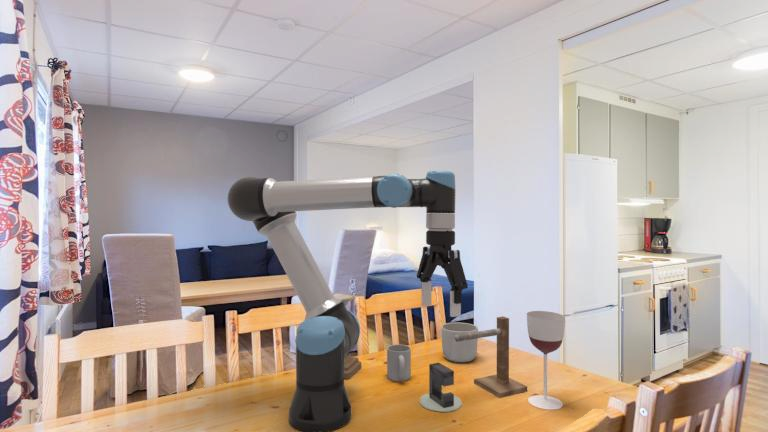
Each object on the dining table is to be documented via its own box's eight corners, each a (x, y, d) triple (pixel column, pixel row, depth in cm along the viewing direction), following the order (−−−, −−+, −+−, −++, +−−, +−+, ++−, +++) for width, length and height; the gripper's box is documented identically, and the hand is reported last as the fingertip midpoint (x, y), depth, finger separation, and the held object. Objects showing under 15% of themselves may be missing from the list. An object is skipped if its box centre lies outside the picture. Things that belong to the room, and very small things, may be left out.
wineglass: (541, 412, 109) (542, 321, 109) (519, 396, 119) (519, 312, 118) (572, 408, 112) (573, 318, 111) (548, 392, 121) (548, 310, 121)
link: (444, 408, 111) (444, 372, 111) (429, 397, 117) (429, 364, 117) (453, 405, 112) (453, 370, 112) (438, 395, 118) (438, 362, 118)
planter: (483, 356, 151) (483, 325, 151) (470, 367, 141) (470, 333, 141) (449, 350, 158) (450, 320, 158) (435, 360, 147) (435, 328, 147)
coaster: (434, 415, 107) (434, 414, 107) (412, 398, 117) (412, 396, 117) (470, 406, 112) (470, 405, 112) (446, 391, 122) (446, 389, 122)
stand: (468, 405, 113) (469, 329, 113) (444, 389, 123) (445, 319, 123) (527, 390, 122) (527, 320, 122) (500, 377, 132) (500, 312, 132)
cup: (408, 372, 136) (408, 344, 136) (414, 385, 127) (414, 354, 126) (385, 373, 135) (385, 345, 135) (390, 386, 126) (390, 355, 125)
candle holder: (315, 375, 134) (315, 297, 134) (331, 363, 144) (331, 291, 144) (348, 379, 130) (348, 300, 130) (362, 367, 141) (361, 293, 141)
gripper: (482, 231, 105) (482, 319, 105) (427, 227, 127) (427, 300, 127) (456, 232, 102) (456, 323, 102) (405, 228, 124) (404, 302, 124)
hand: (440, 310), depth 115 cm, fingers open, 13 cm apart
